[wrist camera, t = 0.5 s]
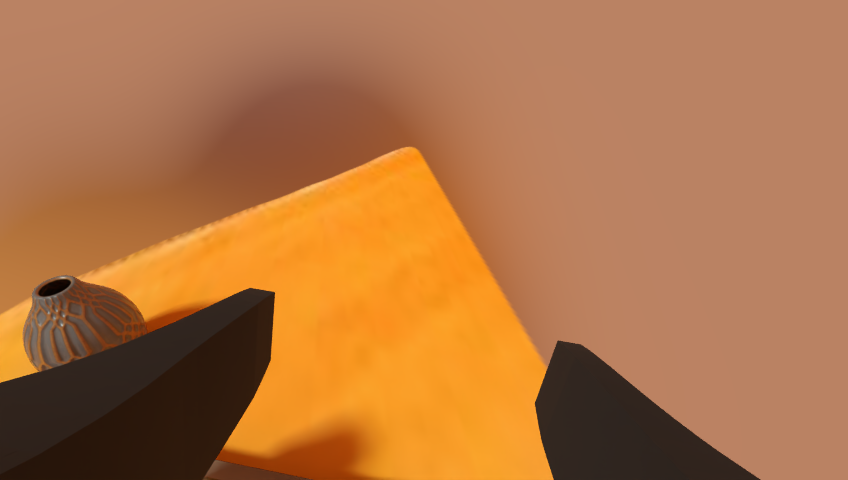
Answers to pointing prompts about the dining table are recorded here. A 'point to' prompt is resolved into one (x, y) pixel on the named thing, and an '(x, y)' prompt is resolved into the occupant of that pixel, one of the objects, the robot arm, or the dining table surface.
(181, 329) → the robot arm
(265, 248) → the dining table surface
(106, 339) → the vase
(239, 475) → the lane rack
